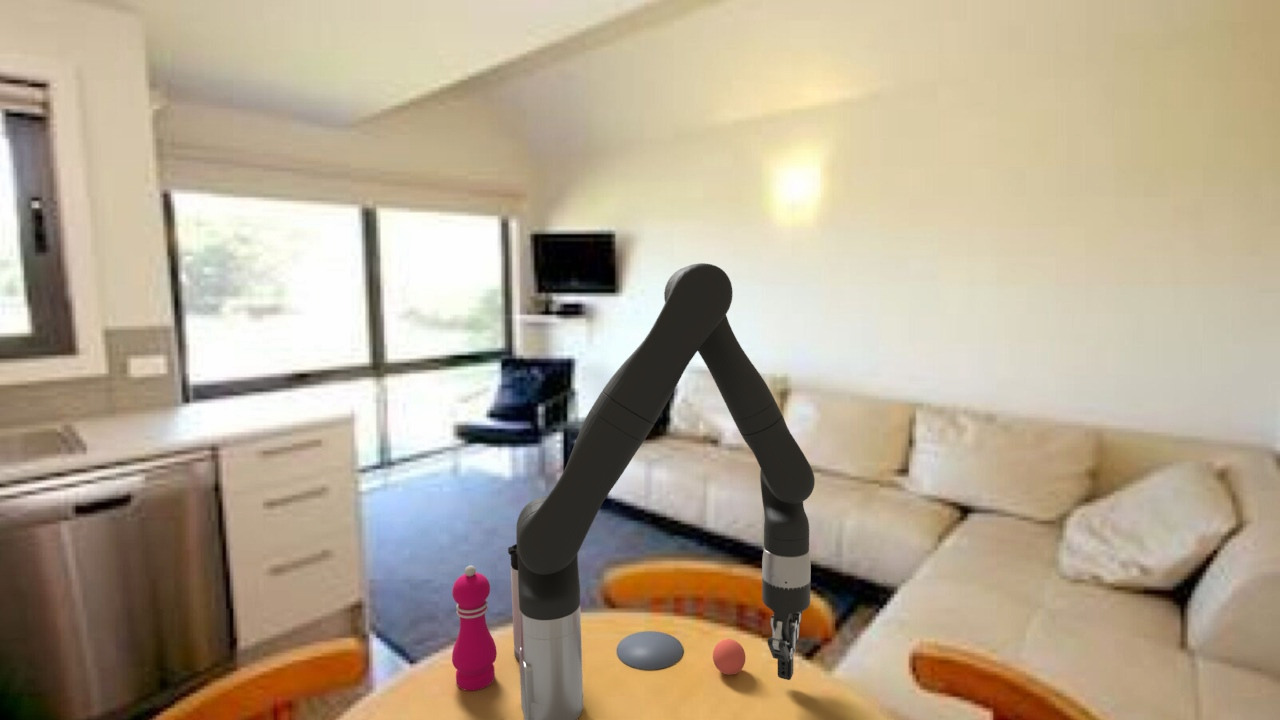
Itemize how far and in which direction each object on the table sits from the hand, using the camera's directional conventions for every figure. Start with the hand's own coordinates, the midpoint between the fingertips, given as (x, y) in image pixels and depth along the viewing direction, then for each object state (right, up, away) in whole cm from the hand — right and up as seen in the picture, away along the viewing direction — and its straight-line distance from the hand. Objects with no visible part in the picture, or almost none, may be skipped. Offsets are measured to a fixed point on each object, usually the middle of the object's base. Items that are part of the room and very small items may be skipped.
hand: (785, 676), depth 105 cm
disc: (-22, -1, +11) cm, 25 cm away
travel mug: (-43, -1, +11) cm, 45 cm away
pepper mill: (-51, -2, +3) cm, 51 cm away
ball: (-9, +1, +4) cm, 10 cm away
